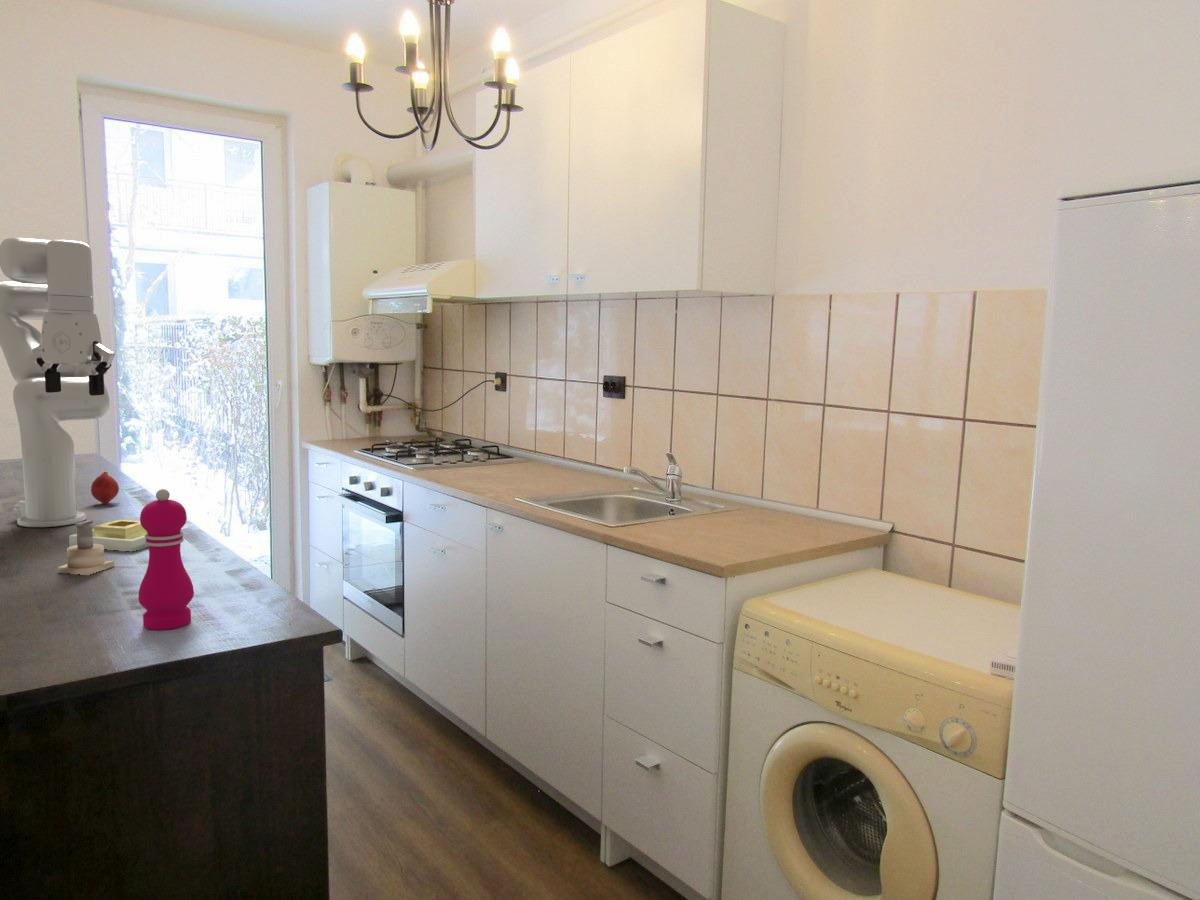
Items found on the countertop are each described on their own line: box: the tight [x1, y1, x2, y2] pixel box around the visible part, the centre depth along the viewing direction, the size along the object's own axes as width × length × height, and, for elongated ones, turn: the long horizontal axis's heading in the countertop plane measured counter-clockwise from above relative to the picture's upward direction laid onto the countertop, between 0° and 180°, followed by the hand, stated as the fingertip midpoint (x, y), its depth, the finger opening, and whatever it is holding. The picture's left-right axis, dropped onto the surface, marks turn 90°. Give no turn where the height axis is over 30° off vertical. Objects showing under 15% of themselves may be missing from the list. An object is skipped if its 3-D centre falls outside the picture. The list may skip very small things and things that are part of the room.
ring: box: [93, 518, 147, 539], centre depth 169 cm, size 7×9×3 cm
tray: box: [68, 528, 149, 552], centre depth 169 cm, size 14×14×2 cm
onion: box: [90, 470, 120, 505], centre depth 204 cm, size 6×6×8 cm
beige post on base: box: [57, 519, 115, 576], centre depth 149 cm, size 6×6×9 cm
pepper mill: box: [137, 488, 195, 631], centre depth 122 cm, size 7×7×20 cm
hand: (75, 393), depth 166 cm, fingers open, 9 cm apart
